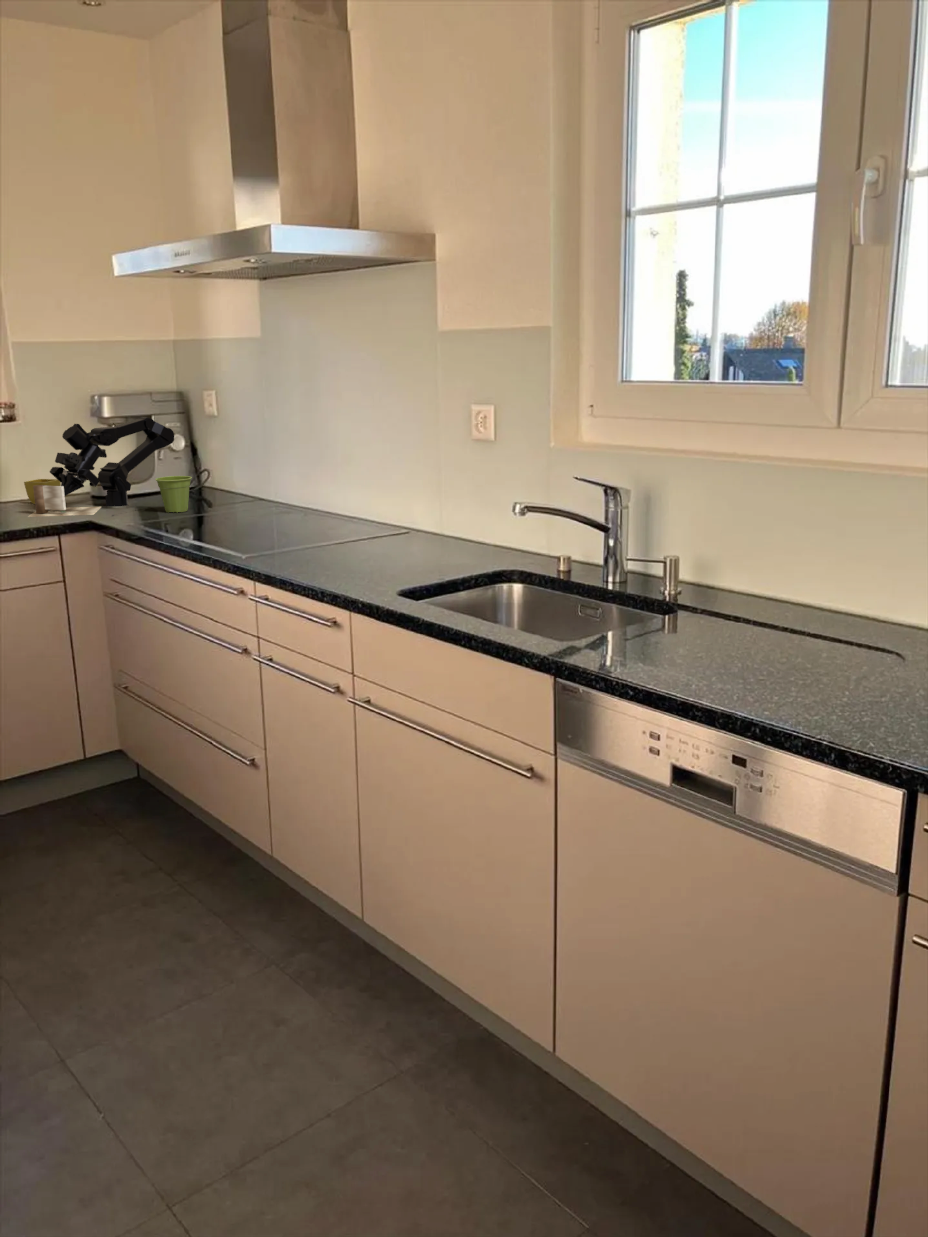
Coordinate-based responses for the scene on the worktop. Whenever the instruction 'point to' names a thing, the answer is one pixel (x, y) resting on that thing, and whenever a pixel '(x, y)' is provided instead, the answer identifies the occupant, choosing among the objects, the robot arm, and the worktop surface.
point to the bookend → (49, 498)
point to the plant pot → (175, 492)
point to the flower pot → (45, 482)
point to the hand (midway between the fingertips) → (60, 496)
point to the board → (69, 512)
